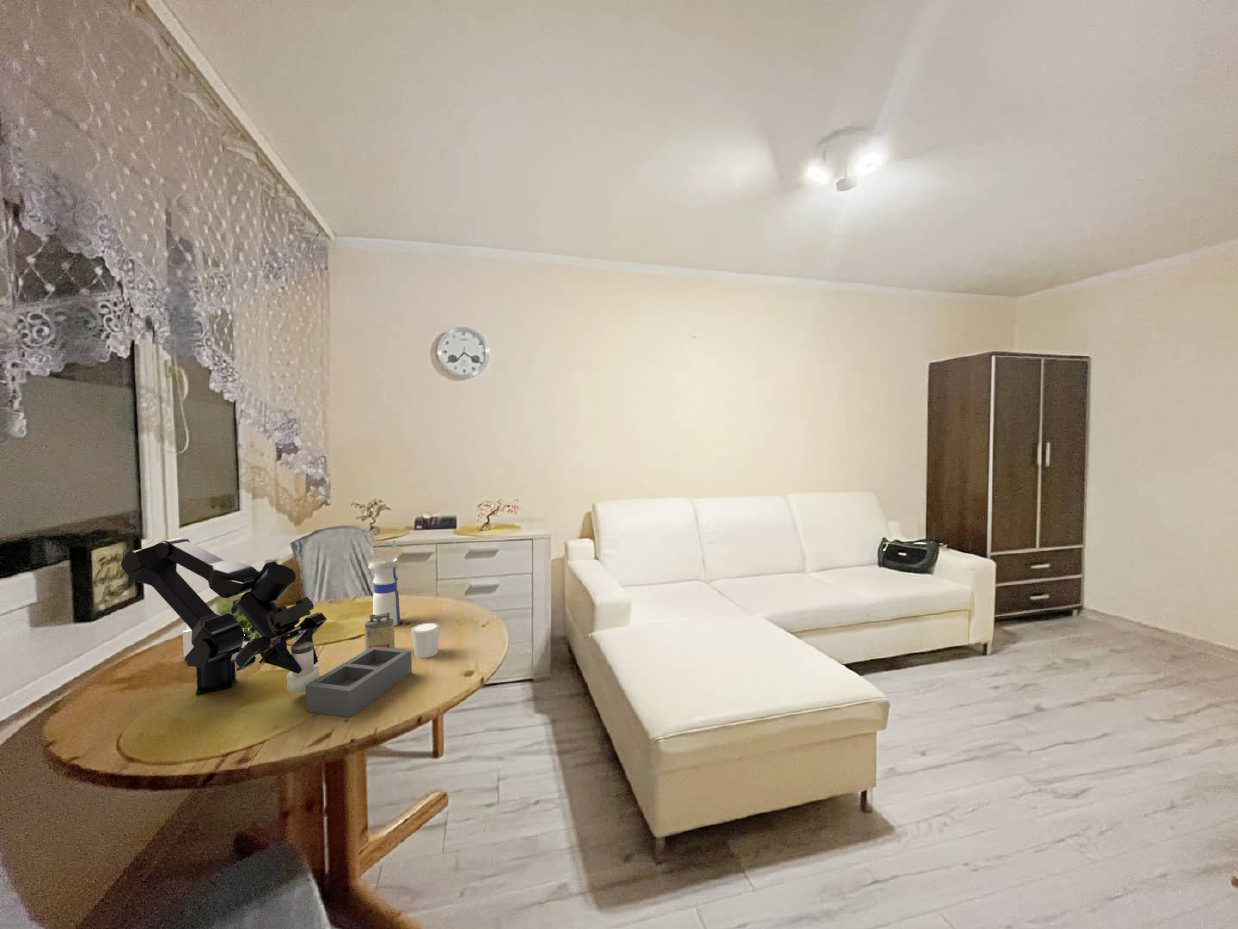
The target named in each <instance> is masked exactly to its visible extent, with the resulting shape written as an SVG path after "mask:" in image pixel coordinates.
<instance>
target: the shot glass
mask: <svg viewBox="0 0 1238 929" xmlns="http://www.w3.org/2000/svg"><path fill="white" fill-rule="evenodd" d="M410 630H411V638H412V645H413V653H414V657H415V658H417V657H418V659H426V658H427V657H428V658H430V657H431V658H432V657H433V656H435V655H437V654H438V651H439V638H440V637H439V636H440V624H439V623H436V622H423V623H419V624H416V625H415V626H412V627H411V629H410Z"/></svg>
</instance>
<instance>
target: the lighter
mask: <svg viewBox="0 0 1238 929" xmlns="http://www.w3.org/2000/svg"><path fill="white" fill-rule="evenodd" d="M382 618H387V619H382ZM373 619H376V620H373ZM364 646H365V647H364V649H365V651H366V650H368V649H369V648H371V647H383V648H393V649H396V647H395V626H394V622H393V619H391V618H390V612H387V613H385V614H379V615H373V614H370V615H369V620H367V621H366V622H364Z"/></svg>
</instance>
